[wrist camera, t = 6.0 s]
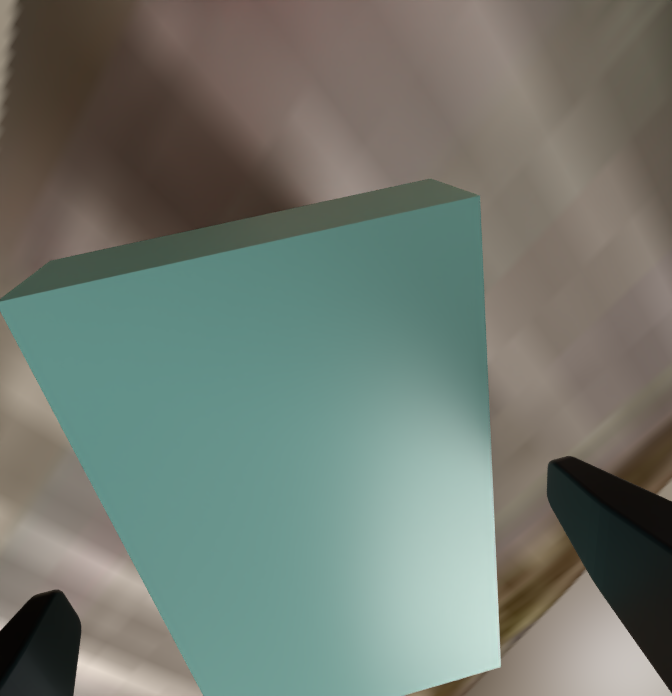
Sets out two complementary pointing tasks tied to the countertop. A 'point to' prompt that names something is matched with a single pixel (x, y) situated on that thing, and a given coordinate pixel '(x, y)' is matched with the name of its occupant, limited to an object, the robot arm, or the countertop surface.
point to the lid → (290, 436)
